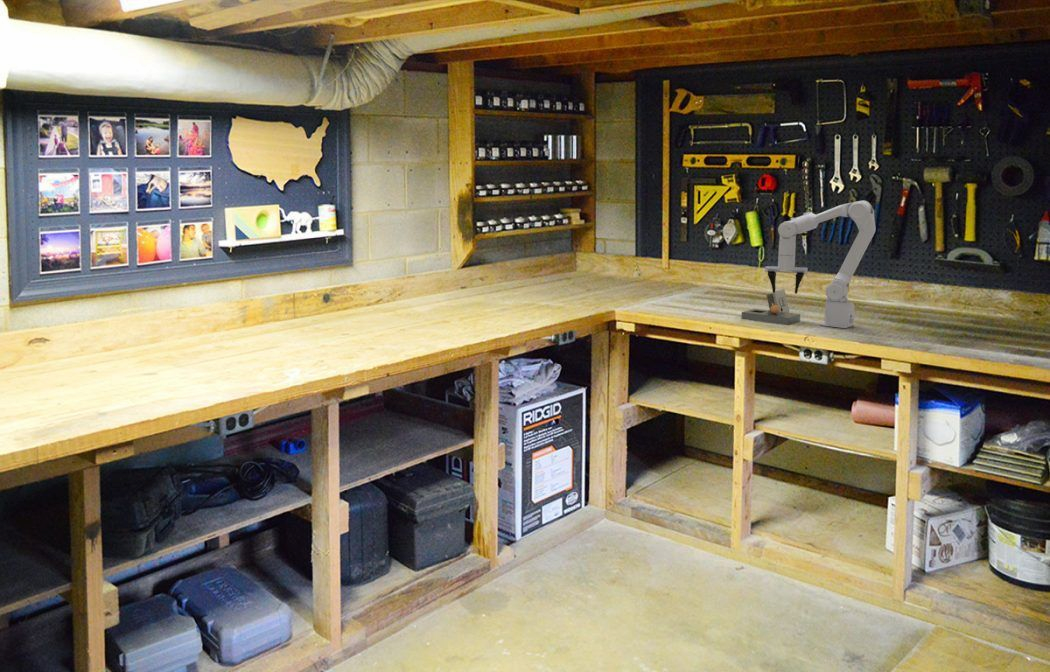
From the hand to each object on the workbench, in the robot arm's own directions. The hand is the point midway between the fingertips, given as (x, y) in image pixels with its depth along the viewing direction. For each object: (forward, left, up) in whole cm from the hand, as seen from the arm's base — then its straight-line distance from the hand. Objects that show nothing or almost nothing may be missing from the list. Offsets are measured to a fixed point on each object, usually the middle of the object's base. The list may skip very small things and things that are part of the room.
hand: (784, 292), depth 341 cm
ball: (+3, +2, -6) cm, 7 cm away
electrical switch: (+8, -12, -10) cm, 18 cm away
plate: (+4, +2, -10) cm, 11 cm away
